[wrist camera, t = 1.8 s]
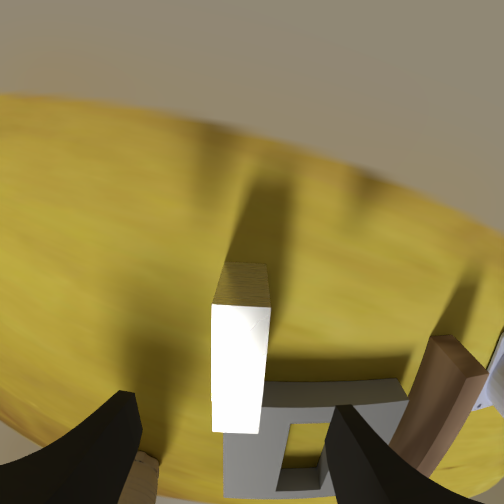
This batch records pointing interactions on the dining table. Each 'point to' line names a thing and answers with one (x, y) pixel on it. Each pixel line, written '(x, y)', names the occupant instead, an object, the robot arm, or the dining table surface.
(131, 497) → the handle
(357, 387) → the slotted grey plate
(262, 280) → the white wooden block
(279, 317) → the dining table surface
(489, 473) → the dining table surface
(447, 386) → the brown long flat block
